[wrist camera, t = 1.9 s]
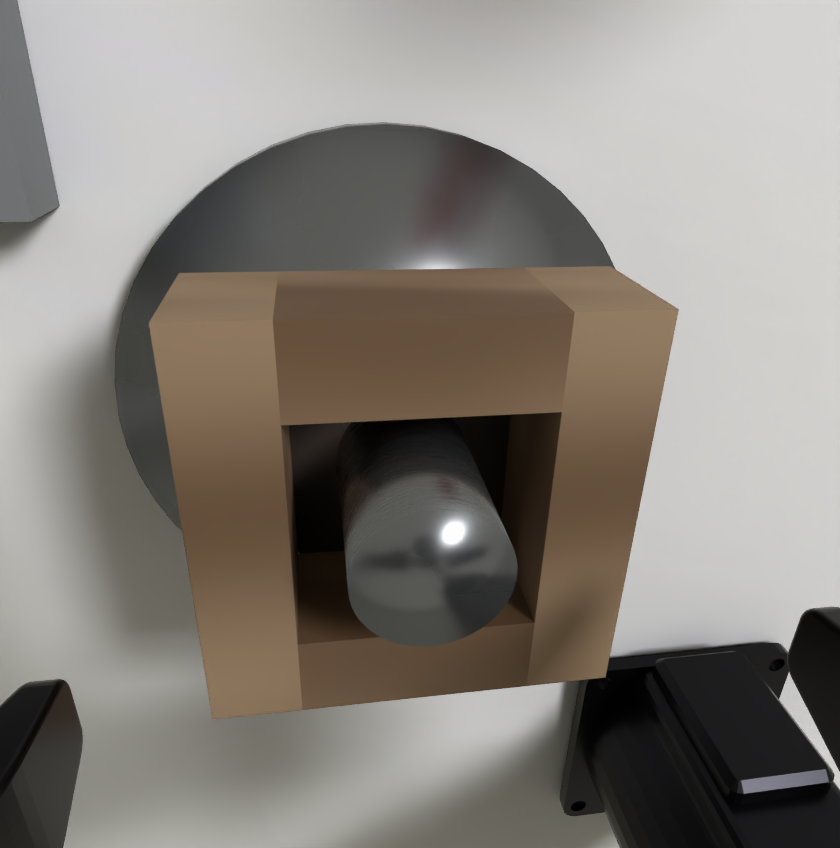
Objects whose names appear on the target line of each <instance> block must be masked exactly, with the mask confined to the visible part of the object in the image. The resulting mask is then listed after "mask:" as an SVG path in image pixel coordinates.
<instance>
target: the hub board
mask: <svg viewBox="0 0 840 848" xmlns="http://www.w3.org/2000/svg"><path fill="white" fill-rule="evenodd" d="M57 207H59V201H58V196H57V191H56V187H55V182H54V177H53V172H52V167H51V162H50V157H49V153H48V148H47V143H46V138H45V133H44V128H43V123H42V119H41V114H40V109H39V104H38V99H37V94H36V89H35V85H34V80H33V75H32V70H31V65H30V60H29V56H28V51H27V46H26V41H25V36H24V31H23V26H22V22H21V17H20V12H19V7H18V2H17V0H0V222H32V221H34V220H36V219H38V218H39V217H41V216H43V215H45V214H46V213H48V212H50V211H52V210H54V209H55V208H57Z"/></svg>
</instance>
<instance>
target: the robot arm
mask: <svg viewBox="0 0 840 848" xmlns="http://www.w3.org/2000/svg"><path fill="white" fill-rule="evenodd" d="M789 672H790V675H791V677H792V679H793V681H794V683H795V685H796V687H797V689H798V691H799V693H800V695H801V697H802V699H803V701H804V703H805V705H806V707H807V708H808V710H809V712H810V714H811V716H812V718H813V720H814V722H815V724H816V726H817V728H818V730H819V732H820V734H821V736H822V738H823V740H824V742H825V744H826V746H827V748H828V750H829V752H830V754H831V756H832V758H833V759H834V761H835V763H836V765H837V767H838V769H839V771H840V608H839V607H824V608H813V609H809V610H806V611H805V612H804V613H803V614H802V616H801V618H800V621H799V623H798V626H797V629H796V632H795V635H794V638H793V640H792V643H791V646H790V649H789V652H788V651H787V650H786V649H785V648H784V647H783V646H782V645H781V644H779V643H766V644H757V645H747V646H737V647H727V648H718V649H708V650H698V651H689V652H679V653H669V654H659V655H650V656H640V657H630V658H621V659H611V660H609V662H608V667H607V672H606V677H605V678H596V679H586V680H580V684H579V690H578V696H577V701H576V707H575V713H574V718H573V724H572V730H571V735H570V741H569V747H568V752H567V758H566V764H565V769H564V775H563V780H562V786H561V792H560V801H561V804H562V807H563V810H564V812H565V813H566V814H567V815H570V816H579V815H587V814H594V813H601V812H605V813H606V815H607V817H608V820H609V822H610V825H611V827H612V830H613V832H614V834H615V837H616V839H617V842H618V844H619V847H620V848H840V789H839V788H838V787H837V785H836V784H835V783H834V781H833V780H834V773H833V771H832V769H831V768H830V766H829V765H828V764H827V762H826V761H825V760H824V758H823V757H822V756H821V754H820V753H819V752H818V751H817V749H816V748H815V747H814V745H813V744H812V743H811V741H810V740H809V739H808V737H807V736H806V735H805V733H804V732H803V731H802V729H801V728H800V727H799V725H798V724H797V723H796V722H795V720H794V719H793V718H792V716H791V715H790V714H789V712H788V711H787V710H786V708H785V707H784V706H783V704H782V703H781V702H780V700H779V697H780V695H781V692H782V689H783V686H784V684H785V681H786V678H787V675H788V673H789ZM82 743H83V735H82V728H81V724H80V721H79V717H78V714H77V710H76V707H75V703H74V700H73V696H72V693H71V689H70V687H69V685H68V683H67V682H66V681H64V680H61V679H55V680H45V681H34V682H29V683H26V684H24V685H23V686H21V687H20V688H18V689H17V690H16V691H15V692H14V693H13V694H12V695H11V696H10V697H9V698H8V699H7V700H6V701H5V702H3V703H2V704H1V705H0V848H63V846H64V841H65V836H66V831H67V825H68V820H69V815H70V810H71V805H72V799H73V794H74V789H75V784H76V779H77V773H78V768H79V763H80V758H81V752H82Z"/></svg>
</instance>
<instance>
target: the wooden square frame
mask: <svg viewBox="0 0 840 848" xmlns="http://www.w3.org/2000/svg"><path fill="white" fill-rule="evenodd" d="M678 310H679V309H677V308H676V307H674V306H672V305H671V304H669V303H668V302H666V301H664V300H663V299H661V298H660V297H658V296H657V295H655V294H653V293H652V292H650V291H649V290H647V289H645V288H644V287H642V286H641V285H639V284H638V283H636V282H634V281H633V280H631V279H630V278H628V277H626V276H625V275H623V274H622V273H620V272H619V271H617V270H615V269H614V268H612V267H611V266H593V267H530V268H466V269H402V270H338V271H274V272H210V273H179V274H178V276H177V277H176V279H175V281H174V282H173V284H172V286H171V287H170V289H169V290H168V292H167V294H166V295H165V297H164V299H163V300H162V302H161V304H160V305H159V307H158V309H157V310H156V312H155V314H154V315H153V317H152V318H151V320H150V322H149V328H150V334H151V340H152V347H153V353H154V359H155V365H156V371H157V377H158V384H159V390H160V396H161V402H162V408H163V415H164V421H165V427H166V433H167V439H168V446H169V452H170V458H171V464H172V470H173V477H174V483H175V489H176V495H177V501H178V508H179V514H180V520H181V526H182V532H183V539H184V545H185V551H186V557H187V563H188V570H189V576H190V582H191V588H192V594H193V601H194V607H195V613H196V619H197V625H198V631H199V638H200V644H201V650H202V656H203V662H204V669H205V675H206V681H207V687H208V693H209V700H210V706H211V712H212V718H213V719H221V718H230V717H240V716H249V715H258V714H268V713H277V712H286V711H296V710H305V709H314V708H324V707H333V706H343V705H352V704H361V703H371V702H380V701H389V700H399V699H408V698H418V697H427V696H436V695H446V694H455V693H464V692H474V691H483V690H492V689H502V688H511V687H521V686H530V685H539V684H549V683H558V682H567V681H577V680H586V679H596V678H605V677H606V672H607V667H608V662H609V657H610V652H611V647H612V642H613V637H614V632H615V627H616V622H617V617H618V612H619V607H620V602H621V597H622V592H623V587H624V582H625V577H626V572H627V567H628V562H629V556H630V551H631V546H632V541H633V536H634V531H635V526H636V521H637V516H638V511H639V506H640V501H641V496H642V491H643V486H644V481H645V476H646V471H647V466H648V461H649V456H650V451H651V446H652V441H653V436H654V431H655V426H656V421H657V416H658V411H659V406H660V401H661V396H662V391H663V386H664V381H665V376H666V371H667V366H668V360H669V355H670V350H671V345H672V340H673V335H674V330H675V325H676V320H677V315H678ZM491 415H511V418H510V429H509V440H508V450H507V461H506V472H505V483H504V494H503V505H502V516H501V521H502V524H503V526H504V528H505V530H506V533H507V535H508V537H509V539H510V542H511V544H512V546H513V548H514V551H515V554H516V558H517V565H518V571H517V580H516V584H515V587H514V590H513V593H512V595H511V597H510V599H509V601H508V602H507V604H506V605H505V606H504V608H503V609H502V610H501V611H500V613H499V614H498V615H497V616H496V617H495V618H494V619H493V620H492V621H490V622H489V623H488V624H487V625H485V626H484V627H483V628H481V629H480V630H478V631H476V632H474V633H473V634H471V635H469V636H467V637H464V638H462V639H459V640H456V641H454V642H450V643H446V644H442V645H435V646H408V645H402V644H398V643H394V642H391V641H388V640H386V639H384V638H381V637H380V636H378V635H376V634H374V633H373V632H372V631H370V630H369V629H368V628H366V626H365V625H364V624H363V623H362V622H361V621H360V620H359V619H358V617H357V616H356V614H355V612H354V610H353V608H352V606H351V603H350V600H349V594H348V584H347V573H346V562H345V551H344V550H343V551H330V552H316V553H303V554H298V545H297V530H296V516H295V502H294V488H293V474H292V459H291V445H290V431H289V425H302V424H323V423H344V422H365V421H386V420H407V419H428V418H449V417H470V416H491Z"/></svg>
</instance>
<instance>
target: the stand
mask: <svg viewBox="0 0 840 848" xmlns="http://www.w3.org/2000/svg"><path fill="white" fill-rule="evenodd" d="M593 266H611V267H612V268H614V269H615V267H614V265H613V263H612V261H611V259H610V257H609V255H608V253H607V251H606V249H605V247H604V245H603V243H602V242H601V240H600V239H599V237H598V236H597V234H596V233H595V231H594V230H593V229H592V227H591V226H590V224H589V223H588V221H587V220H586V218H585V217H584V216H583V215H582V214H581V212H580V211H579V210H578V209H577V208H576V207H575V206H574V205H573V204H572V203H571V202H570V201H569V200H568V199H567V197H566V196H565V195H564V194H563V193H562V192H561V191H560V190H559V189H557V188H556V187H555V186H553V185H552V184H551V183H550V182H548V181H547V180H546V179H545V178H543V177H542V176H541V175H540V174H538V173H537V172H536V171H535V170H533V169H532V168H530V167H528V166H527V165H525V164H523V163H521V162H520V161H518V160H516V159H514V158H513V157H511V156H509V155H507V154H506V153H504V152H502V151H500V150H498V149H495V148H493V147H490V146H488V145H485V144H483V143H480V142H478V141H475V140H473V139H470V138H468V137H465V136H462V135H460V134H456V133H452V132H448V131H443V130H439V129H435V128H431V127H426V126H421V125H410V124H398V123H387V122H381V123H364V124H346V125H341V126H336V127H331V128H326V129H321V130H316V131H311V132H307V133H304V134H301V135H299V136H296V137H293V138H290V139H287V140H285V141H282V142H279V143H276V144H273V145H271V146H269V147H267V148H265V149H263V150H261V151H259V152H258V153H256V154H254V155H252V156H250V157H248V158H246V159H244V160H242V161H241V162H239V163H237V164H236V165H234V166H233V167H231V168H230V169H229V170H227V171H226V172H225V173H223V174H222V175H220V176H219V177H218V178H216V179H215V180H214V181H212V182H211V183H210V184H208V185H207V186H206V187H205V188H204V189H203V190H202V191H201V192H200V193H199V194H198V195H197V196H196V197H194V198H193V199H192V200H191V201H190V202H189V203H188V204H187V205H186V206H185V207H184V208H183V209H182V210H181V211H180V212H179V213H178V215H177V216H176V217H175V218H174V219H173V221H172V222H171V223H170V225H169V226H168V227H167V229H166V230H165V231H164V233H163V234H162V235H161V237H160V238H159V239H158V241H157V242H156V243H155V245H154V246H153V247H152V249H151V251H150V253H149V254H148V256H147V258H146V260H145V262H144V264H143V266H142V267H141V269H140V271H139V273H138V275H137V277H136V279H135V280H134V283H133V286H132V289H131V292H130V294H129V297H128V300H127V303H126V306H125V308H124V311H123V314H122V319H121V324H120V330H119V335H118V340H117V345H116V359H115V389H116V398H117V406H118V415H119V418H120V422H121V426H122V429H123V433H124V437H125V440H126V444H127V447H128V449H129V452H130V454H131V456H132V458H133V461H134V463H135V465H136V468H137V470H138V472H139V475H140V476H141V478H142V479H143V481H144V483H145V484H146V486H147V488H148V489H149V491H150V492H151V494H152V496H153V497H154V499H155V501H156V502H157V503H158V504H159V505H160V507H161V508H162V509H163V510H164V511H165V513H166V514H167V515H168V516H169V518H170V519H171V520H172V521H173V522H174V524H175V525H176V526H177V527H178V528H180V529H181V530H182V526H181V520H180V514H179V508H178V501H177V495H176V489H175V483H174V477H173V470H172V464H171V458H170V452H169V446H168V439H167V433H166V427H165V421H164V415H163V408H162V402H161V396H160V390H159V384H158V377H157V371H156V365H155V359H154V353H153V347H152V340H151V334H150V328H149V322H150V320H151V318H152V317H153V315H154V314H155V312H156V310H157V309H158V307H159V305H160V304H161V302H162V300H163V299H164V297H165V295H166V294H167V292H168V290H169V289H170V287H171V286H172V284H173V282H174V281H175V279H176V277H177V276H178V274H179V273H210V272H274V271H338V270H402V269H466V268H530V267H593ZM615 270H616V269H615ZM510 418H511V415H491V416H470V417H449V418H428V419H407V420H386V421H365V422H344V423H323V424H302V425H289V431H290V445H291V459H292V474H293V488H294V502H295V516H296V530H297V545H298V554H303V553H316V552H330V551H343V550H344V551H345V562H346V573H347V584H348V594H349V600H350V603H351V606H352V608H353V610H354V612H355V614H356V616H357V617H358V619H359V620H360V621H361V622H362V623H363V624H364V625H365V626H366V628H368V629H369V630H370V631H372V632H373V633H374V634H376V635H378V636H380V637H381V638H384V639H386V640H388V641H391V642H394V643H398V644H402V645H408V646H435V645H442V644H446V643H450V642H454V641H456V640H459V639H462V638H464V637H467V636H469V635H471V634H473V633H474V632H476V631H478V630H480V629H481V628H483V627H484V626H485V625H487V624H488V623H489V622H490V621H492V620H493V619H494V618H495V617H496V616H497V615H498V614H499V613H500V611H501V610H502V609H503V608H504V606H505V605H506V604H507V602H508V601H509V599H510V597H511V595H512V593H513V590H514V587H515V584H516V580H517V571H518V565H517V558H516V554H515V551H514V548H513V546H512V544H511V542H510V539H509V537H508V535H507V533H506V530H505V528H504V526H503V524H502V521H501V516H502V505H503V494H504V483H505V472H506V461H507V450H508V440H509V429H510Z"/></svg>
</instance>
